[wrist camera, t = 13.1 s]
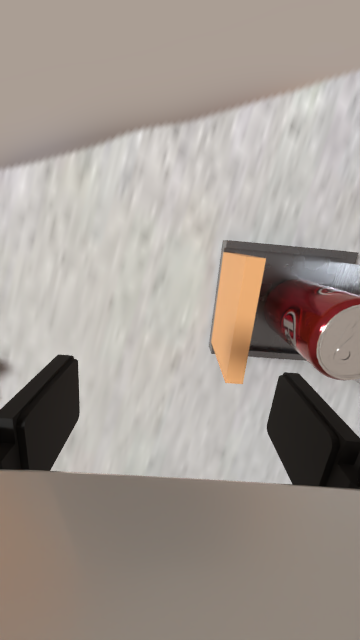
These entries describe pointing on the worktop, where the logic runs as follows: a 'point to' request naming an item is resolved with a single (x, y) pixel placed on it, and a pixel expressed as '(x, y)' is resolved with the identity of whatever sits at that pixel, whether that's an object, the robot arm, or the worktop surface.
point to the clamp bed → (288, 265)
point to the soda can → (318, 325)
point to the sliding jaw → (236, 312)
